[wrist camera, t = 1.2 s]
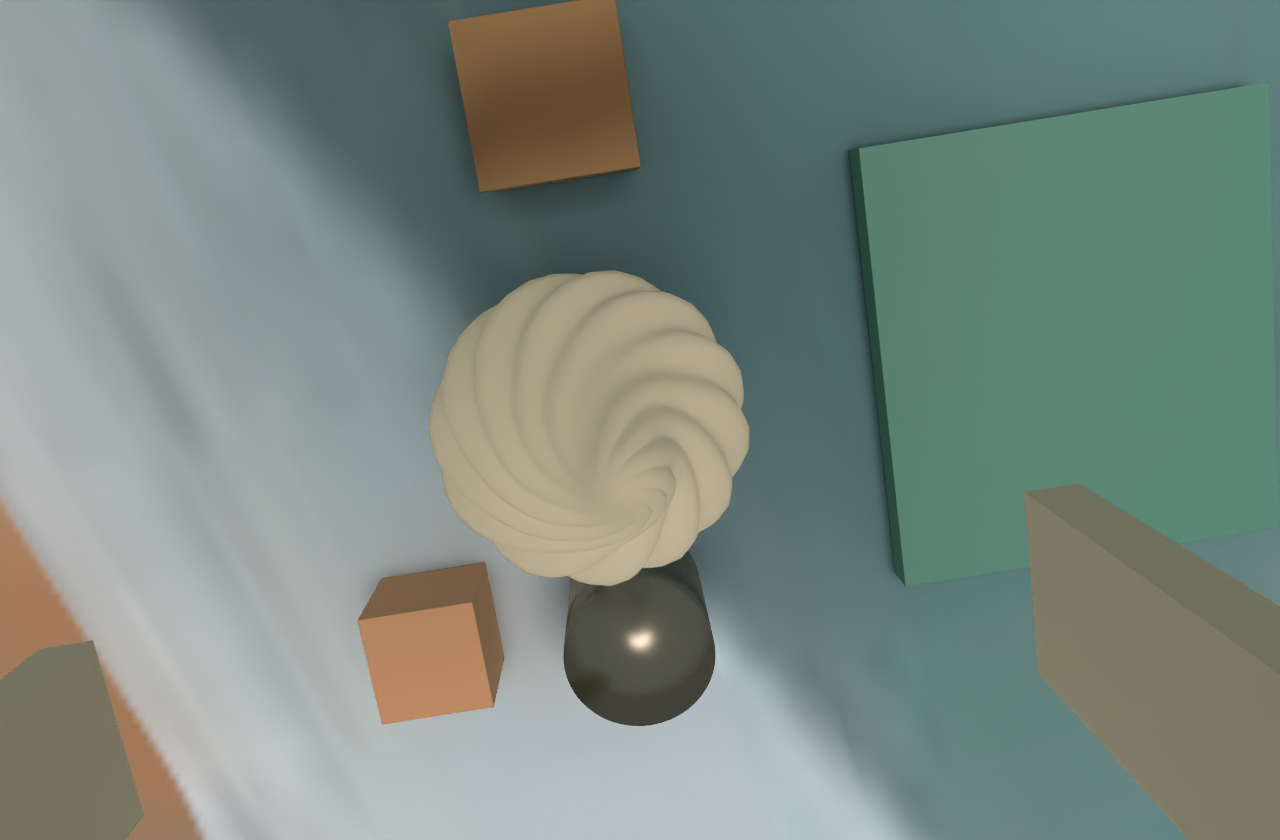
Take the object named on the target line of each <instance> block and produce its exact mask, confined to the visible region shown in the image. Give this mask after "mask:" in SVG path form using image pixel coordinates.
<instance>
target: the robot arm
mask: <svg viewBox="0 0 1280 840" xmlns="http://www.w3.org/2000/svg"><path fill="white" fill-rule="evenodd" d="M1024 497H1025V509H1026V521H1027V534H1028V546H1029V559H1030V571H1031V583H1032V596H1033V608H1034V621H1035V633H1036V645H1037V658H1038V670H1039V674H1040V675H1041V676H1042V678H1043V679H1044V680H1045V681H1046V682H1047V683H1048V684H1049V685H1050V686H1051V688H1052V689H1053V690H1054V691H1055V692H1056V693H1057V694H1058V695H1059V696H1060V698H1061V699H1062V700H1063V701H1064V702H1065V703H1066V704H1067V705H1068V706H1069V708H1070V709H1071V710H1072V711H1073V712H1074V713H1075V714H1076V715H1077V716H1078V718H1079V719H1080V720H1081V721H1082V722H1083V723H1084V724H1085V725H1086V726H1087V728H1088V729H1089V730H1090V731H1091V732H1092V733H1093V734H1094V735H1095V736H1096V738H1097V739H1098V740H1099V741H1100V742H1101V743H1102V744H1103V745H1104V746H1105V748H1106V749H1107V750H1108V751H1109V752H1110V753H1111V754H1112V755H1113V757H1114V758H1115V759H1116V760H1117V761H1118V762H1119V763H1120V764H1121V765H1122V767H1123V768H1124V769H1125V770H1126V771H1127V772H1128V773H1129V774H1130V775H1131V777H1132V778H1133V779H1134V780H1135V781H1136V782H1137V783H1138V784H1139V785H1140V787H1141V788H1142V789H1143V790H1144V791H1145V792H1146V793H1147V794H1148V795H1149V797H1150V798H1151V799H1152V800H1153V801H1154V802H1155V803H1156V804H1157V805H1158V807H1159V808H1160V809H1161V810H1162V811H1163V812H1164V813H1165V814H1166V815H1167V817H1168V818H1169V819H1170V820H1171V821H1172V822H1173V823H1174V824H1175V825H1176V827H1177V828H1178V829H1179V830H1180V831H1181V832H1182V833H1183V834H1184V836H1185V837H1186V838H1187V839H1188V840H1280V606H1278V605H1276V604H1275V603H1273V602H1272V601H1270V600H1268V599H1267V598H1265V597H1263V596H1262V595H1260V594H1258V593H1257V592H1255V591H1254V590H1252V589H1250V588H1249V587H1247V586H1245V585H1244V584H1242V583H1241V582H1239V581H1237V580H1236V579H1234V578H1232V577H1231V576H1229V575H1227V574H1226V573H1224V572H1223V571H1221V570H1219V569H1218V568H1216V567H1214V566H1213V565H1211V564H1210V563H1208V562H1206V561H1205V560H1203V559H1201V558H1200V557H1198V556H1196V555H1195V554H1193V553H1192V552H1190V551H1188V550H1187V549H1185V548H1183V547H1182V546H1180V545H1179V544H1177V543H1175V542H1174V541H1172V540H1170V539H1169V538H1167V537H1165V536H1164V535H1162V534H1161V533H1159V532H1157V531H1156V530H1154V529H1152V528H1151V527H1149V526H1148V525H1146V524H1144V523H1143V522H1141V521H1139V520H1138V519H1136V518H1134V517H1133V516H1131V515H1130V514H1128V513H1126V512H1125V511H1123V510H1121V509H1120V508H1118V507H1117V506H1115V505H1113V504H1112V503H1110V502H1108V501H1107V500H1105V499H1103V498H1102V497H1100V496H1099V495H1097V494H1095V493H1094V492H1092V491H1090V490H1089V489H1087V488H1086V487H1084V486H1082V485H1081V484H1079V483H1078V484H1072V485H1065V486H1059V487H1053V488H1046V489H1040V490H1034V491H1028V492H1024ZM143 816H144V814H143V811H142V807H141V804H140V801H139V797H138V793H137V790H136V787H135V783H134V780H133V776H132V773H131V769H130V766H129V762H128V759H127V756H126V752H125V749H124V745H123V742H122V738H121V735H120V732H119V728H118V725H117V721H116V718H115V714H114V711H113V708H112V704H111V701H110V698H109V694H108V691H107V687H106V684H105V680H104V677H103V673H102V670H101V666H100V663H99V660H98V656H97V653H96V649H95V646H94V642H93V641H87V642H80V643H75V644H68V645H62V646H56V647H49V648H43V649H39V650H37V651H36V652H35V653H33V654H32V655H31V656H30V657H28V658H27V659H26V660H25V661H23V662H22V663H21V664H20V665H18V666H17V667H16V668H14V669H13V670H12V671H11V672H9V673H8V674H7V675H6V676H4V677H3V678H2V679H1V680H0V840H126V838H127V837H128V836H129V834H130V833H131V831H132V830H133V829H134V827H135V826H136V825H137V824H138V822H139V821H140V820H141V818H142V817H143Z"/></svg>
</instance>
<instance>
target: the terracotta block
mask: <svg viewBox="0 0 1280 840" xmlns="http://www.w3.org/2000/svg"><path fill="white" fill-rule="evenodd" d="M358 624H359V629H360V633H361V637H362V641H363V646H364V650H365V654H366V658H367V663H368V667H369V671H370V675H371V680H372V684H373V688H374V692H375V697H376V701H377V705H378V709H379V714H380V718H381V722H382V724H388V723H395V722H401V721H407V720H413V719H420V718H426V717H432V716H439V715H445V714H451V713H457V712H464V711H470V710H476V709H483V708H489V707H494V703H495V698H496V694H497V689H498V684H499V680H500V675H501V671H502V666H503V661H504V654H503V649H502V644H501V639H500V634H499V629H498V624H497V619H496V614H495V609H494V604H493V599H492V594H491V589H490V584H489V579H488V574H487V570H486V565H485V562H482V563H476V564H470V565H463V566H457V567H451V568H445V569H438V570H432V571H426V572H419V573H413V574H407V575H400V576H394V577H388V578H382V579H381V581H380V582H379V584H378V586H377V588H376V589H375V591H374V593H373V595H372V596H371V598H370V600H369V602H368V603H367V605H366V607H365V609H364V610H363V612H362V614H361V616H360V617H359V619H358Z"/></svg>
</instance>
